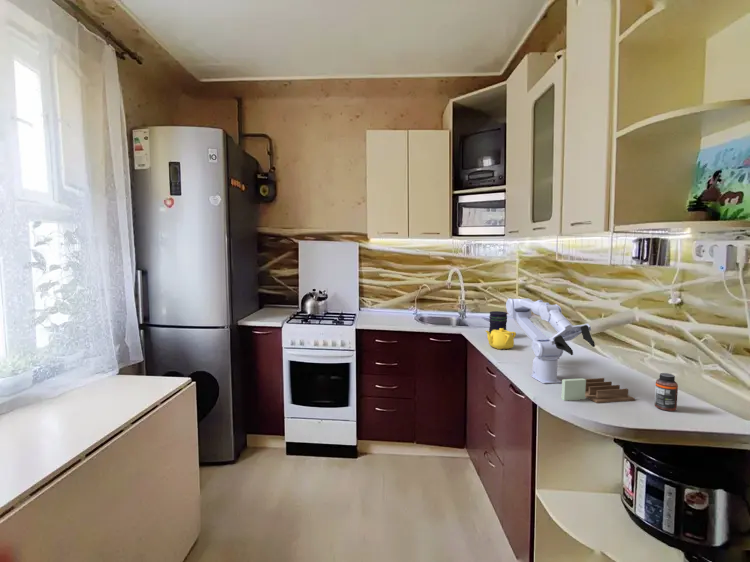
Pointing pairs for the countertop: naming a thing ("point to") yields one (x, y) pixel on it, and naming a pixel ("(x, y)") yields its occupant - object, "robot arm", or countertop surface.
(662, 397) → the supplement bottle
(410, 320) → the countertop surface
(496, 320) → the storage jar
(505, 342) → the teapot
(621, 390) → the dish rack
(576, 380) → the pale green flat block
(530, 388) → the countertop surface
